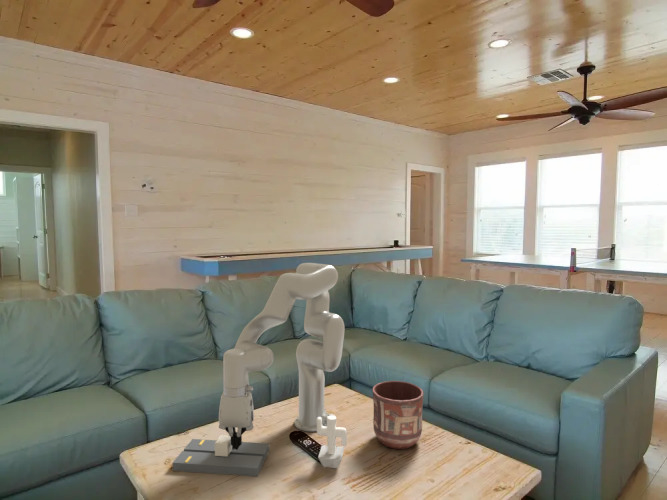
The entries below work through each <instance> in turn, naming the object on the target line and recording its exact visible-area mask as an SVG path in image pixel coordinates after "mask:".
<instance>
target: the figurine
mask: <svg viewBox="0 0 667 500" xmlns="http://www.w3.org/2000/svg"><path fill="white" fill-rule="evenodd" d="M327 423H328V426H322V418H321V417H318V418H317V431H316V434H317V435H318V436H319V437H320V436H321V437H322V436H323V437H327V445H324V444H323V445H321V446H320V449H319V450H320V451H319V453H318V457H317V458H318V459H319V462H320V464H321V465H322V467H323V468H330V469H331V468H332V469H338V468H339V466H340V464H341V462H342V460H343V455H344V450H345V447H346V446H347V445H348V432H347V429H346V428H345V427H339V426H338V427H337V416H336V415H335V414H334V415H329V416H328V417H327ZM336 437H337V438H341V446H336V445H337V444H336V443H337V441H336V440H337V439H336Z"/></svg>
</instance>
